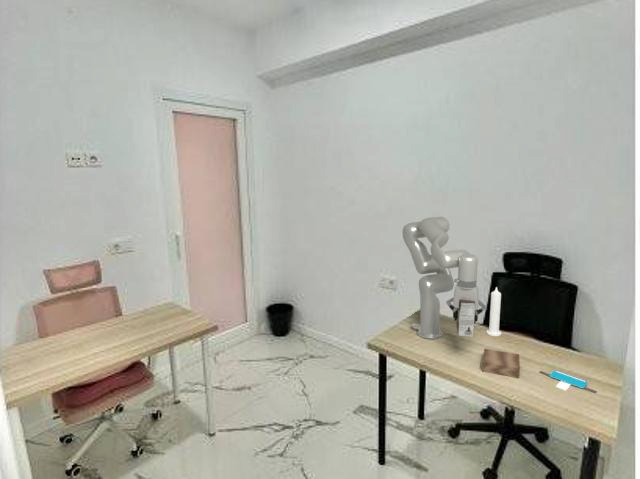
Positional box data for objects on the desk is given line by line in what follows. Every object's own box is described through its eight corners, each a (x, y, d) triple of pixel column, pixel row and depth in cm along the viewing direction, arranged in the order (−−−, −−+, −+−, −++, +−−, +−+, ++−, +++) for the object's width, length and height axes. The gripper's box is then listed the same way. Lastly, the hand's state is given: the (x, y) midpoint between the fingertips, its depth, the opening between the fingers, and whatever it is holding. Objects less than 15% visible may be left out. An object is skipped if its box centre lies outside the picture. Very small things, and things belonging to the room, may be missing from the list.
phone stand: (533, 379, 158) (533, 375, 158) (544, 368, 165) (544, 364, 165) (590, 401, 143) (591, 397, 143) (600, 387, 151) (600, 384, 150)
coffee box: (455, 326, 175) (457, 293, 171) (470, 327, 174) (472, 293, 170) (458, 336, 167) (460, 301, 163) (474, 336, 165) (476, 302, 161)
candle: (484, 333, 197) (486, 287, 191) (489, 328, 202) (491, 283, 196) (498, 337, 192) (501, 290, 187) (503, 332, 197) (506, 286, 192)
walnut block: (482, 372, 164) (482, 361, 163) (483, 358, 175) (484, 348, 174) (518, 379, 158) (519, 368, 157) (518, 364, 169) (519, 354, 168)
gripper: (444, 283, 165) (443, 321, 170) (488, 288, 158) (486, 328, 162) (447, 278, 172) (445, 314, 176) (489, 282, 164) (487, 320, 169)
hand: (465, 320), depth 169 cm, fingers closed on coffee box, 7 cm apart
